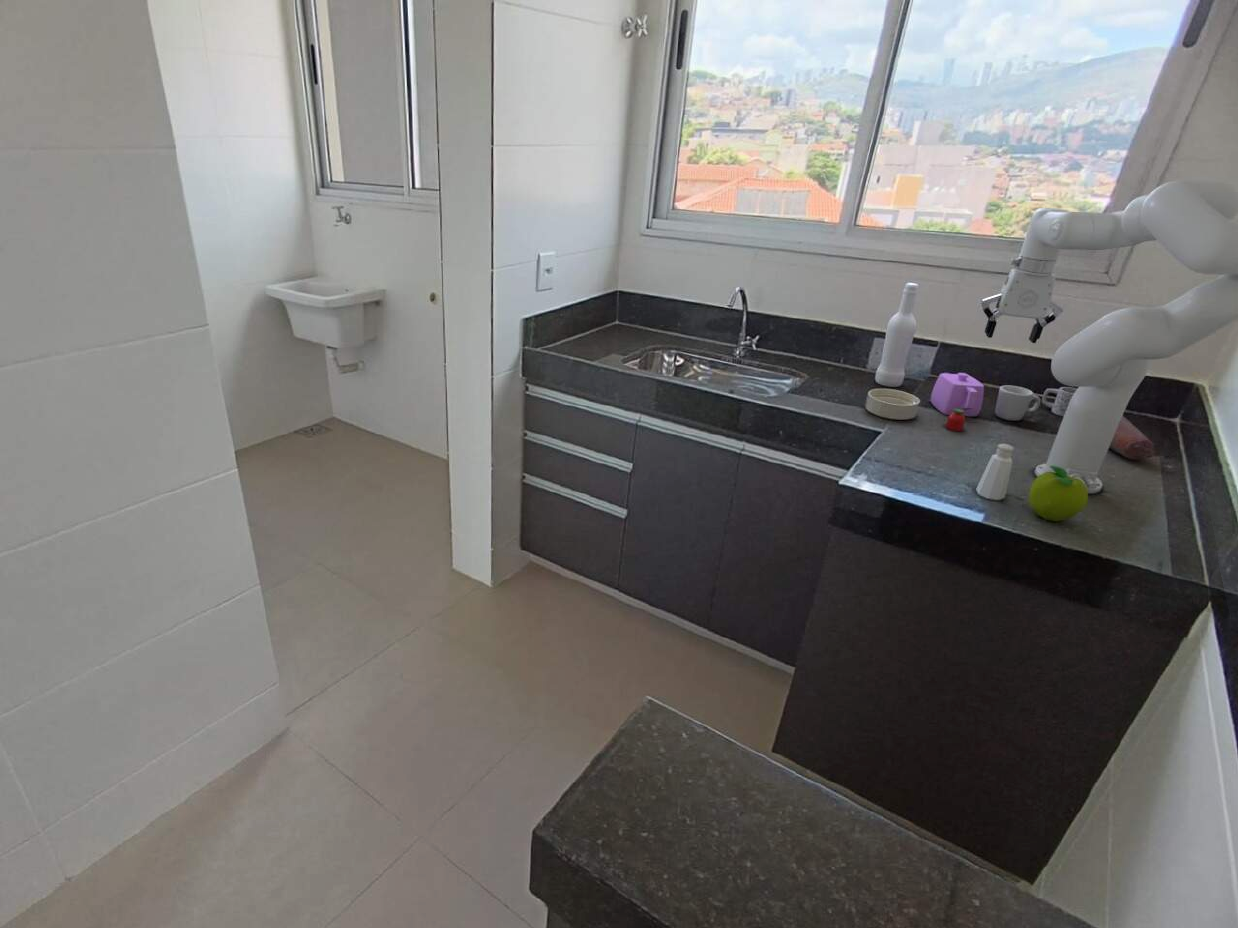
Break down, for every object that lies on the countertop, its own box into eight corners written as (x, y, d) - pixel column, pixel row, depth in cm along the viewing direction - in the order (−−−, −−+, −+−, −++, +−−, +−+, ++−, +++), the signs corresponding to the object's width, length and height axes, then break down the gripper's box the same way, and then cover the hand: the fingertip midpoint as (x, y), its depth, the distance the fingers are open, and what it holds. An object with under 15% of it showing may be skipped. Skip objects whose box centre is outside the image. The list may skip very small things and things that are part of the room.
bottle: (883, 377, 206) (906, 280, 193) (907, 384, 200) (932, 285, 187) (868, 381, 201) (891, 282, 188) (893, 389, 196) (918, 287, 182)
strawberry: (964, 432, 167) (969, 414, 165) (947, 429, 168) (952, 412, 166) (960, 426, 171) (965, 408, 169) (944, 424, 172) (949, 406, 169)
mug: (1081, 414, 184) (1090, 392, 181) (1074, 419, 180) (1083, 396, 177) (1043, 404, 191) (1050, 382, 188) (1035, 408, 187) (1043, 386, 184)
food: (1067, 429, 173) (1079, 397, 169) (1102, 430, 174) (1115, 399, 170) (1124, 463, 154) (1139, 428, 150) (1163, 465, 154) (1179, 430, 151)
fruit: (1024, 522, 126) (1042, 475, 122) (1020, 501, 134) (1037, 457, 129) (1080, 535, 123) (1100, 487, 118) (1072, 513, 130) (1091, 468, 126)
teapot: (921, 396, 191) (930, 362, 187) (957, 398, 191) (967, 364, 187) (946, 419, 175) (957, 382, 170) (986, 421, 175) (998, 385, 170)
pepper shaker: (977, 485, 139) (993, 438, 135) (1006, 493, 137) (1023, 445, 132) (973, 494, 135) (989, 446, 131) (1002, 503, 133) (1020, 454, 128)
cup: (1026, 414, 182) (1036, 387, 178) (1040, 425, 175) (1050, 397, 171) (986, 411, 182) (995, 383, 179) (998, 421, 175) (1007, 393, 172)
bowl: (919, 424, 170) (924, 408, 169) (867, 417, 173) (871, 401, 171) (911, 407, 182) (915, 392, 180) (862, 401, 184) (866, 386, 182)
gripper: (998, 265, 149) (974, 338, 156) (1082, 273, 145) (1054, 348, 153) (990, 259, 155) (968, 330, 163) (1071, 267, 152) (1044, 339, 159)
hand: (1010, 339), depth 158 cm, fingers open, 9 cm apart
